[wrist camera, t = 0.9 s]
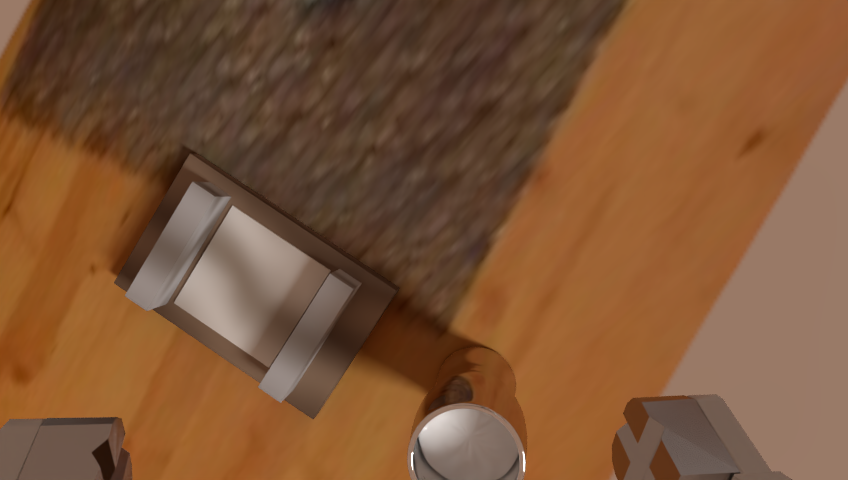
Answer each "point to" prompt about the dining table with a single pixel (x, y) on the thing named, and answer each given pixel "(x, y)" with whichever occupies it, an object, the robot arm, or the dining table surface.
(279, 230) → the rail board
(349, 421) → the dining table surface
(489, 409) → the beer glass
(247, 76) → the dining table surface
